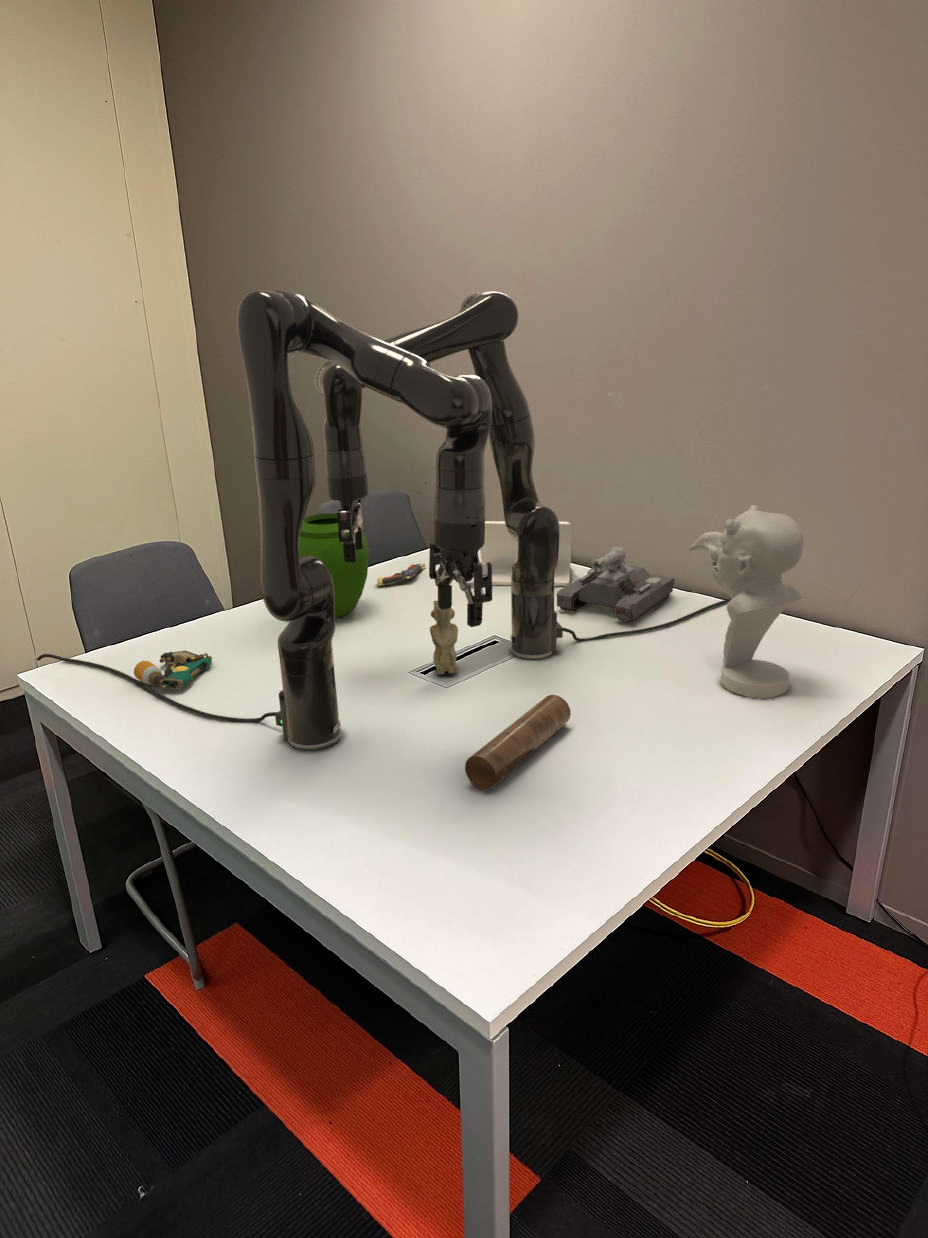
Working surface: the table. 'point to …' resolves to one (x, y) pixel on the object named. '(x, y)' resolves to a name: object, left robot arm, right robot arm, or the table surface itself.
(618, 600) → the toy
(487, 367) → the right robot arm
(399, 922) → the table surface
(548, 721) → the rod
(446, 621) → the sculpture
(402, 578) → the toy gun
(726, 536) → the bust sculpture
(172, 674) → the spray gun
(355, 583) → the vase
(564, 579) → the tablet stand
